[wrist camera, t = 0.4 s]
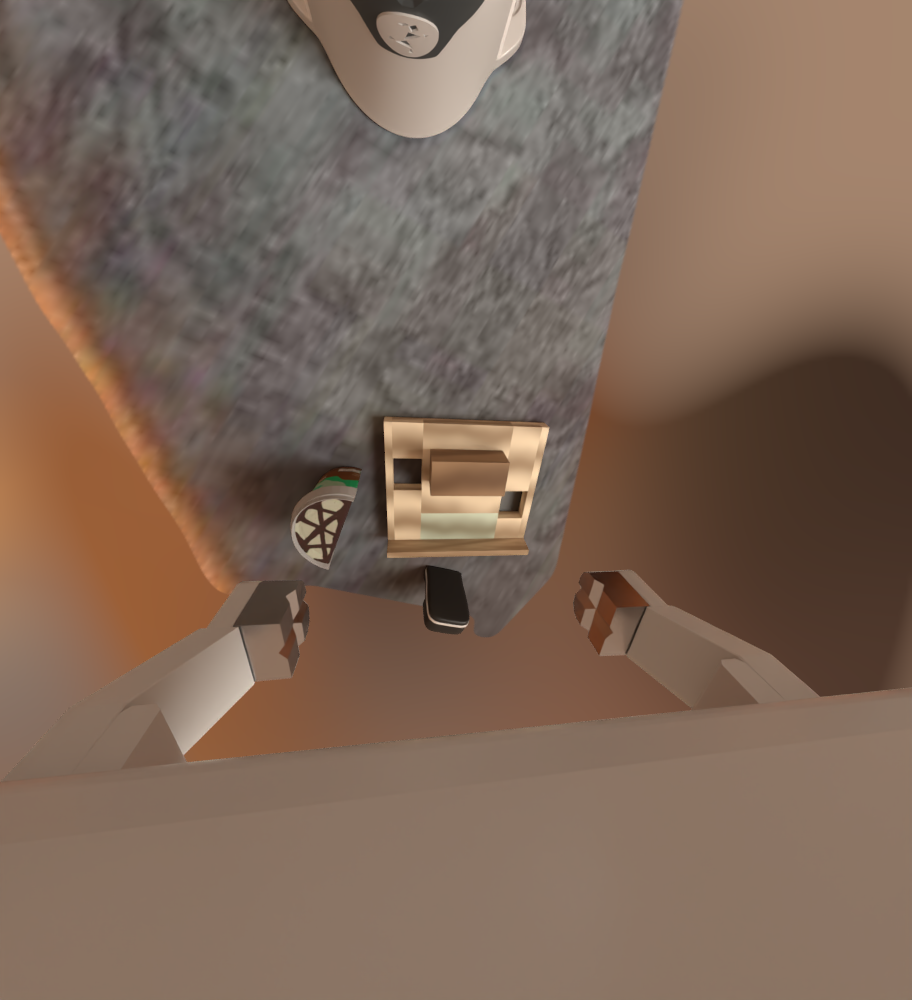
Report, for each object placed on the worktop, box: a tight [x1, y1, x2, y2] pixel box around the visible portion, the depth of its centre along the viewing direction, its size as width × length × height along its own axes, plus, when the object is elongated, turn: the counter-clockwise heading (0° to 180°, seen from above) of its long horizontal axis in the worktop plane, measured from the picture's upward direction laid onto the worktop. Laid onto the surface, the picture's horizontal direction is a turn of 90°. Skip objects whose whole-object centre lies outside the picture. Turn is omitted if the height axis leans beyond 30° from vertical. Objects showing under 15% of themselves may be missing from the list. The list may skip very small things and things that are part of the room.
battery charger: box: [423, 566, 469, 634], centre depth 55 cm, size 7×4×11 cm, turn 68°
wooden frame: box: [384, 417, 549, 558], centre depth 48 cm, size 20×22×5 cm
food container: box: [290, 467, 362, 569], centre depth 43 cm, size 12×6×10 cm, turn 154°
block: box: [429, 449, 510, 496], centre depth 44 cm, size 5×10×4 cm, turn 85°
